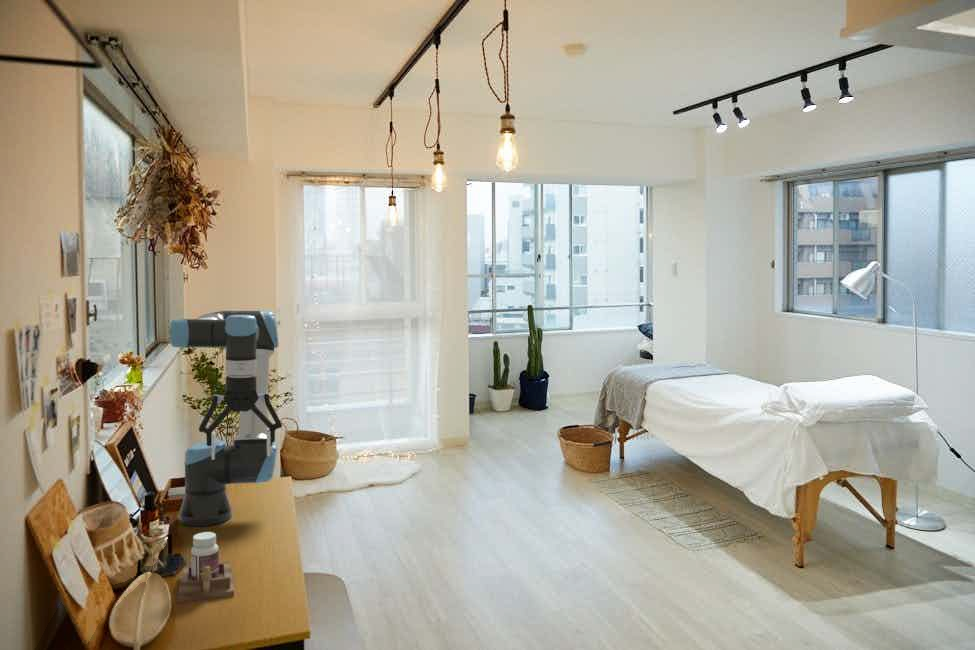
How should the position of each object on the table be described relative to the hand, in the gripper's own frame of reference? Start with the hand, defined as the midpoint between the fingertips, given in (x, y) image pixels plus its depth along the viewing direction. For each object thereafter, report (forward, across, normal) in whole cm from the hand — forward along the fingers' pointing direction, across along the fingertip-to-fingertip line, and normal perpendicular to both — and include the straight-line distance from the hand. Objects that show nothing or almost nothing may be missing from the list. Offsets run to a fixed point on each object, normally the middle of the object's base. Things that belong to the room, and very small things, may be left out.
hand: (241, 456), depth 189 cm
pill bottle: (+26, -9, -14) cm, 31 cm away
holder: (+28, -8, -14) cm, 32 cm away
